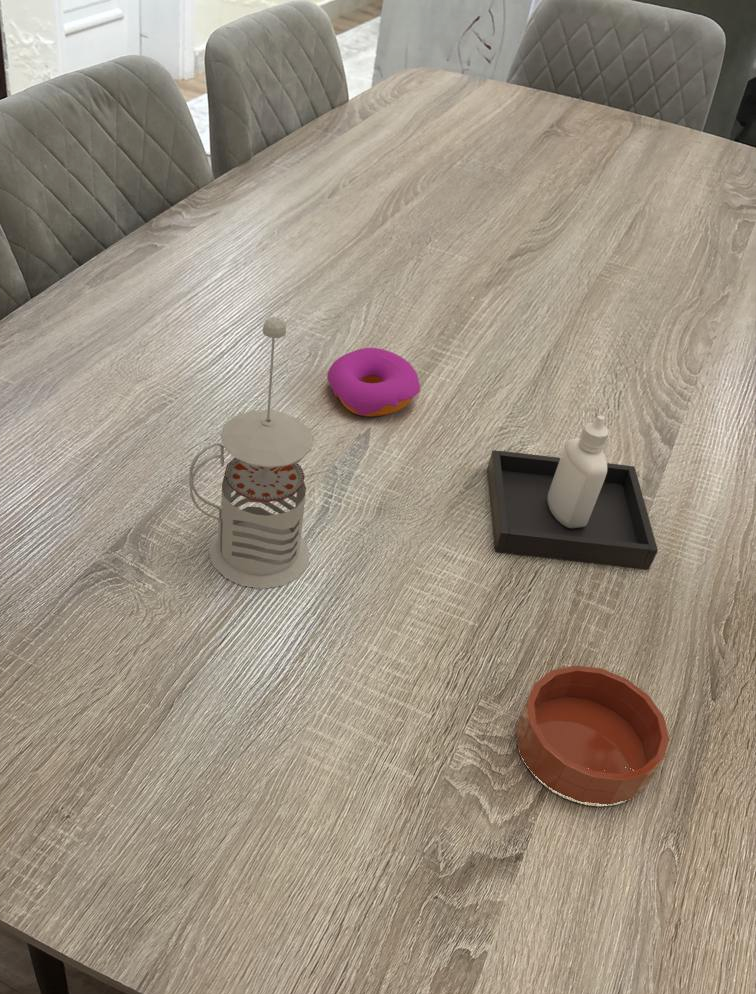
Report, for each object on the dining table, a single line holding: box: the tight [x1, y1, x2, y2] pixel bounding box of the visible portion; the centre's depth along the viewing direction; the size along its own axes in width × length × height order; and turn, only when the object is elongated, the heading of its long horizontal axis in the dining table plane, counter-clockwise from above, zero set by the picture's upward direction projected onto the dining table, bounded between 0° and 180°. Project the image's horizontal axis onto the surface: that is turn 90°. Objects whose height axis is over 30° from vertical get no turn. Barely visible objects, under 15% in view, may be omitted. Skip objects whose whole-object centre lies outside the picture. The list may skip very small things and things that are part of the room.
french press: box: [188, 316, 314, 590], centre depth 82 cm, size 10×12×25 cm
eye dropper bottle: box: [547, 414, 610, 528], centre depth 94 cm, size 4×6×12 cm
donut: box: [326, 347, 421, 417], centre depth 110 cm, size 10×10×5 cm
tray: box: [486, 449, 659, 570], centre depth 98 cm, size 16×14×3 cm
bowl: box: [515, 665, 670, 805], centre depth 76 cm, size 11×11×4 cm
